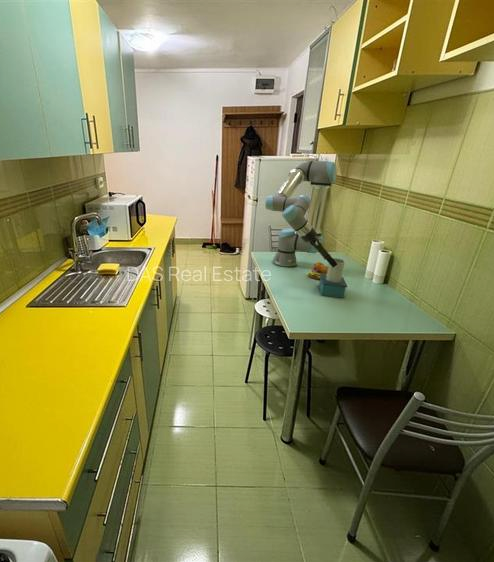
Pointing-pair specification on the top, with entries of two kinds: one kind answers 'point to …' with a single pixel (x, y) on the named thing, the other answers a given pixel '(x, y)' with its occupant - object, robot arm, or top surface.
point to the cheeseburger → (317, 270)
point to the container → (332, 287)
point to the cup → (335, 271)
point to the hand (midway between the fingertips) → (330, 261)
